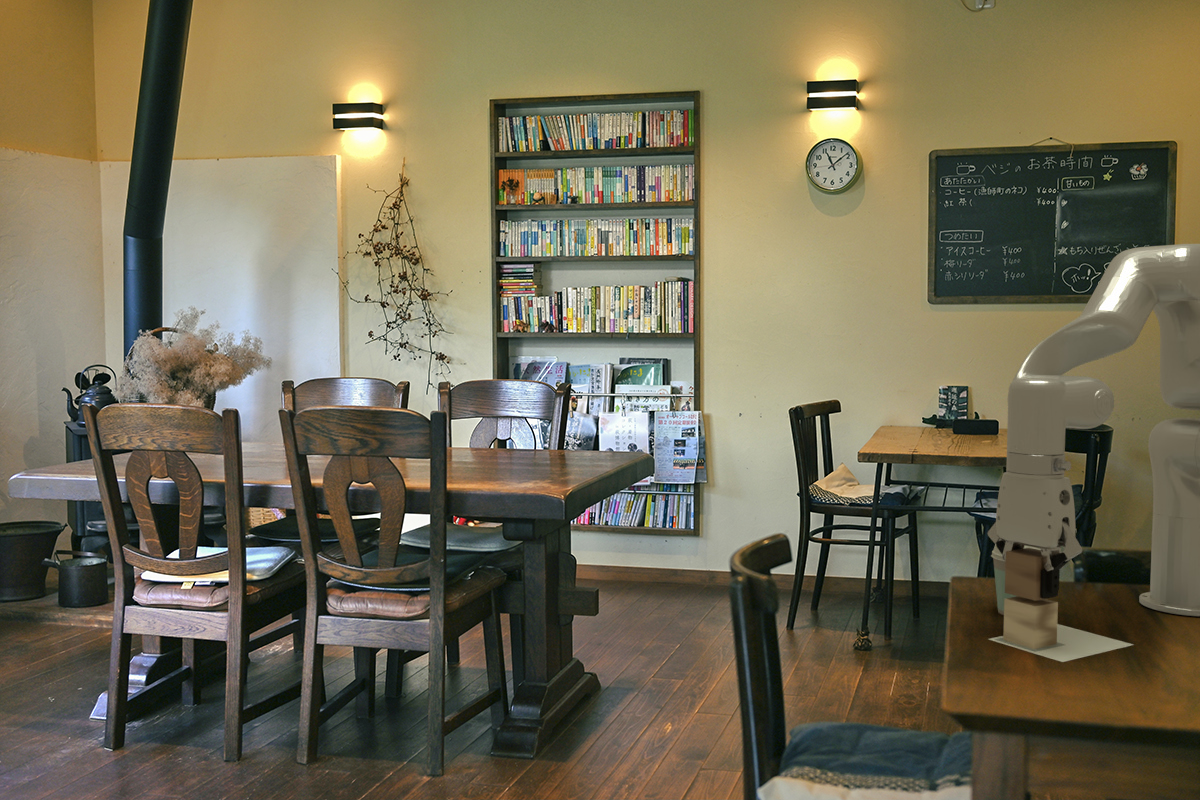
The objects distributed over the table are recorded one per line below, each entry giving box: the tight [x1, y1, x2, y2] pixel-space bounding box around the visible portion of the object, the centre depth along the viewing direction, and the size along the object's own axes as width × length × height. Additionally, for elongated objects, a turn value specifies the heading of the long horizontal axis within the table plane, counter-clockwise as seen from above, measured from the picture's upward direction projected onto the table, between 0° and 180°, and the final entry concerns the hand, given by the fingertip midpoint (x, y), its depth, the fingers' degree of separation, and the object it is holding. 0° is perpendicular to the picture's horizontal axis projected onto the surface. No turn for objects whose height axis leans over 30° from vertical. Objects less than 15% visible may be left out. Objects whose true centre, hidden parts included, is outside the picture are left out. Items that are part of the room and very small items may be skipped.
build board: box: [988, 623, 1134, 663], centre depth 143 cm, size 16×12×1 cm
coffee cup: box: [990, 543, 1041, 616], centre depth 158 cm, size 8×9×12 cm
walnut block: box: [1005, 548, 1053, 601], centre depth 142 cm, size 5×5×6 cm
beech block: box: [1002, 596, 1059, 649], centre depth 143 cm, size 5×5×6 cm
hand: (1031, 591), depth 143 cm, fingers closed on walnut block, 4 cm apart
